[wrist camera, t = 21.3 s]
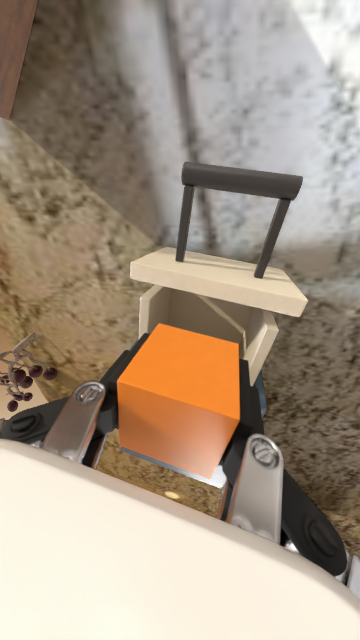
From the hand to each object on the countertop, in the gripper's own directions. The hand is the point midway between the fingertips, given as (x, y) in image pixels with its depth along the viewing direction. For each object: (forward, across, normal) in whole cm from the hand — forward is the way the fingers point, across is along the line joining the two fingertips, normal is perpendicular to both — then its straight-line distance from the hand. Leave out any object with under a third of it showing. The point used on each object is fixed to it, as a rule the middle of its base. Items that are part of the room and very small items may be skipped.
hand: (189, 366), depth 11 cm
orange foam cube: (0, 0, 0) cm, 0 cm away
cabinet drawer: (+11, 0, -1) cm, 11 cm away
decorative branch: (+13, +31, +24) cm, 41 cm away
